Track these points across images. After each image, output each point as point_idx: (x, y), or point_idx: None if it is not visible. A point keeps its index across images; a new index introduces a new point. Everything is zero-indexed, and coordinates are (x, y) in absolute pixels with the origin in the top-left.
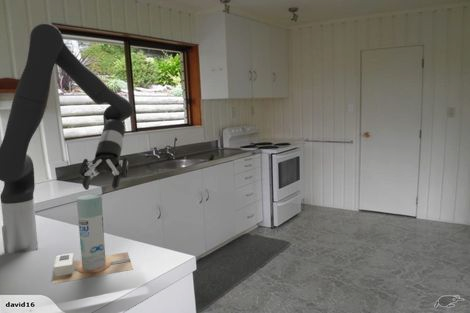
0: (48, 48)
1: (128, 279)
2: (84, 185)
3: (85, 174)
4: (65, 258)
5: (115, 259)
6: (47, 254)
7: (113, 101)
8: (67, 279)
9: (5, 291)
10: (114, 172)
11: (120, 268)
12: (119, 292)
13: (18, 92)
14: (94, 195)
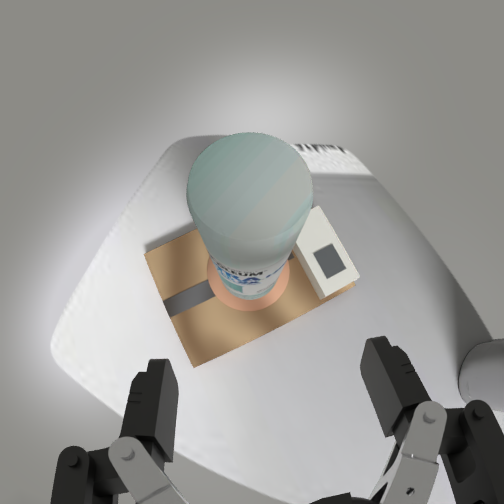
0: None
1: (152, 235)
2: (380, 338)
3: (435, 410)
4: (322, 254)
5: (208, 315)
6: (422, 366)
7: None
8: None
9: (380, 184)
10: (151, 465)
11: (175, 259)
12: (156, 183)
13: None
14: (237, 218)
